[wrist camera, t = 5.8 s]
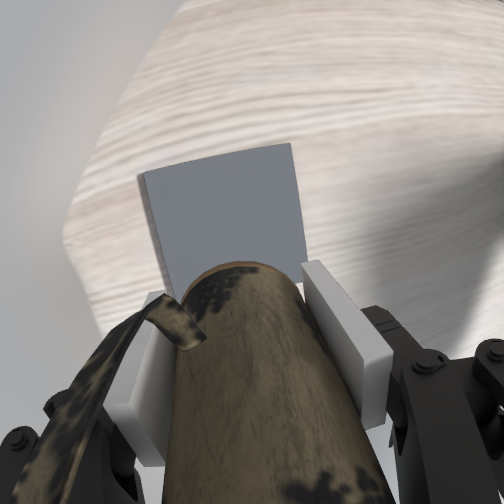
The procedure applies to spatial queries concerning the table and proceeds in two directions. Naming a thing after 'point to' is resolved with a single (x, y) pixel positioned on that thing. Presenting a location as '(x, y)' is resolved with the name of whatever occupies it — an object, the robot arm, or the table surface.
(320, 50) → the table surface
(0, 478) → the robot arm
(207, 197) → the mat
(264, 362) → the mug
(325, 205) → the table surface
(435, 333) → the table surface
